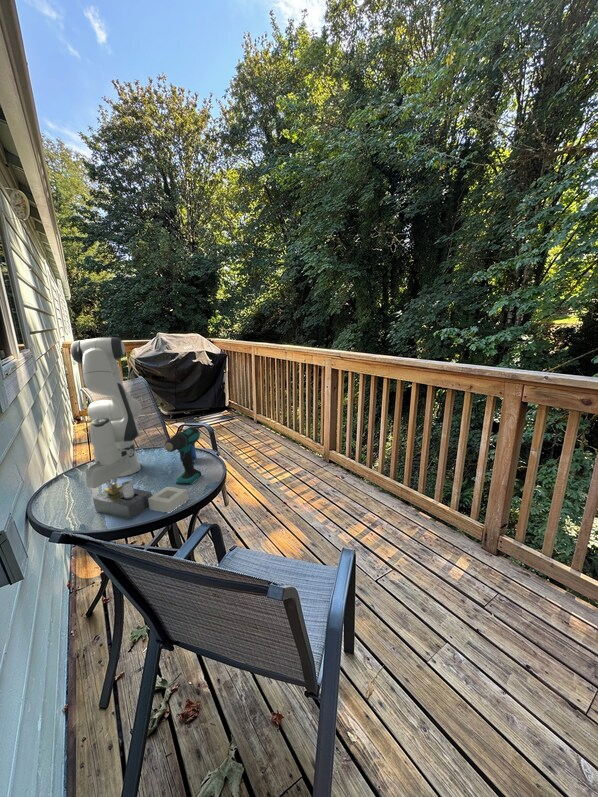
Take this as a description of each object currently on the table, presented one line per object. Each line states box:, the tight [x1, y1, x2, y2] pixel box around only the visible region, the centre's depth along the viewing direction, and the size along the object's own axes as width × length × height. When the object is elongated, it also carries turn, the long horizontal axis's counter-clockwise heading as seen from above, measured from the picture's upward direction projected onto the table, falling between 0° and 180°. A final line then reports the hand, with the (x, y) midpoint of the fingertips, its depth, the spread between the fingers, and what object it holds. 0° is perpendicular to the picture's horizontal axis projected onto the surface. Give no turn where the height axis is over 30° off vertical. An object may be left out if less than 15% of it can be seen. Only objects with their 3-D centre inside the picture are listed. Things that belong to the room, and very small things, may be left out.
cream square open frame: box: [148, 486, 189, 513], centre depth 148 cm, size 11×11×5 cm
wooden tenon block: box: [103, 484, 122, 496], centre depth 149 cm, size 5×5×8 cm
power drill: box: [164, 426, 202, 485], centre depth 166 cm, size 26×9×25 cm, turn 168°
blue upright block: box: [180, 443, 197, 463], centre depth 191 cm, size 8×8×16 cm
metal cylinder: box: [121, 480, 135, 501], centre depth 145 cm, size 4×4×12 cm
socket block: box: [92, 487, 153, 521], centre depth 147 cm, size 20×12×6 cm, turn 67°
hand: (112, 487), depth 148 cm, fingers closed
